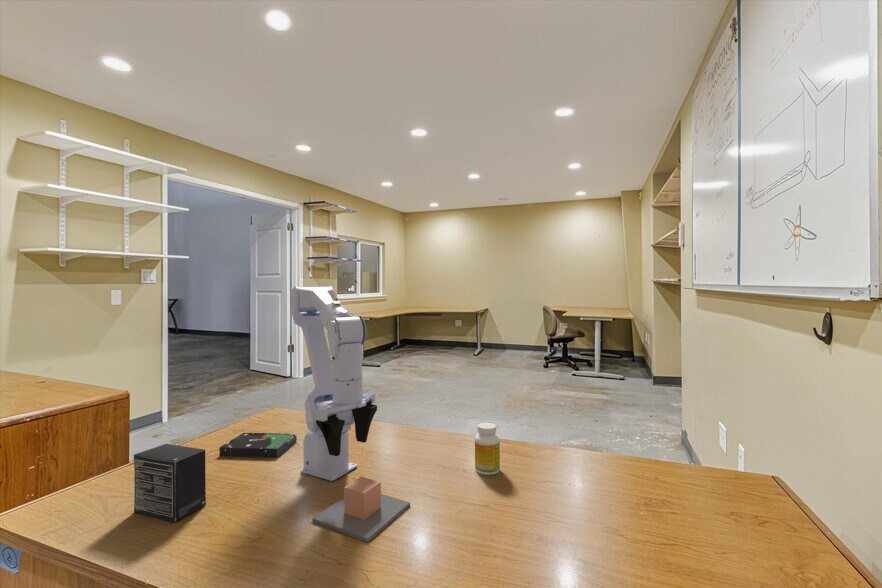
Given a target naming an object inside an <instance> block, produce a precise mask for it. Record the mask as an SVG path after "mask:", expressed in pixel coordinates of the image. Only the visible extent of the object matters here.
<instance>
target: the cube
mask: <svg viewBox="0 0 882 588" xmlns="http://www.w3.org/2000/svg"><path fill="white" fill-rule="evenodd" d="M381 489H382V482H381V481H378V480H374V479H371V478H367V477H363V476H359V477H358V478H356V479H355V480H353V481H352V482H350V483H348V484H346V485H345V486H344V487H343V497H344V513H346V514H349V515H351V516H354V517H357V518H360V519H363V520H365V519H367V518H368V517H369V516H370V515H372V514H373V513H374V512H376V511H377V510H378V509H379V508H381V494H382V490H381Z"/></svg>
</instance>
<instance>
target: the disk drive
mask: <svg viewBox="0 0 882 588" xmlns="http://www.w3.org/2000/svg"><path fill="white" fill-rule="evenodd" d="M296 435H297V434H293V433H286V432H285V433H276V432H275V433H272V432H271V433H270V432H269V433H268V432H242V433H241V434H240V435H238V436H236V437H234V438H233V439H231V440H229V442H228V443H224V444H222V445H221V446H220V447H219V451H218V452H219V457H228V458H229V457H231V458H233V457H235V458H237V457H238V458H266V459H267V458H268V459H278V458H279V457H281V456H282V455H283V454H284V453H286V452H287V451H288V450H289V449H290V448H291V447H293V446H294V445H295V444H296V443H297V442H298V441H297V440H298V439H297V436H296Z"/></svg>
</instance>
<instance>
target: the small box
mask: <svg viewBox="0 0 882 588" xmlns="http://www.w3.org/2000/svg"><path fill="white" fill-rule="evenodd" d="M206 450H207V449H204V448H197V447H190V446H183V445H178V444H177V445H176V444H170V443H164V444H161V445H158V446H155V447H152V448H149V449H147V450H143V451H140V452H138V453H134V455H133V463H134V464H133V465H134V470H133V471H134V478H133V479H134V497H133V498H134V500H133V502H134V505H133V508H134V509H133V513H136V514H139V515H142V516H143V515H144V516H147V517H152V518H155V519H160V520H164V521H167V522H172V523H176V522H178V521H180V520H181V519H184V518H186V517H187V516H189V515H190V514H193V513H194V512H196V511H198V510H199V509H202V508H204V507H205V506H207V503H206V502H207V501H206V499H207V498H206V497H207V495H206V492H207V491H206V490H207V489H206V488H207V487H206V482H207V481H206Z"/></svg>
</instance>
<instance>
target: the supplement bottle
mask: <svg viewBox="0 0 882 588" xmlns="http://www.w3.org/2000/svg"><path fill="white" fill-rule="evenodd" d="M500 443H501V442H500V436H499V435H498V434H497V425H495V423H492V422H491V423H490V422H481V423H479V424H478V425H477V434H476V435H475V437H474V470H475V472H477V473H478V474H480V475H485V476H492V475H496V474H498V473H499V472H500V470H501V469H500V468H501V464H500V463H501V462H500V460H501V457H500V456H501V455H500V454H501V452H500V451H501V448H500V446H501V445H500Z"/></svg>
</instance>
